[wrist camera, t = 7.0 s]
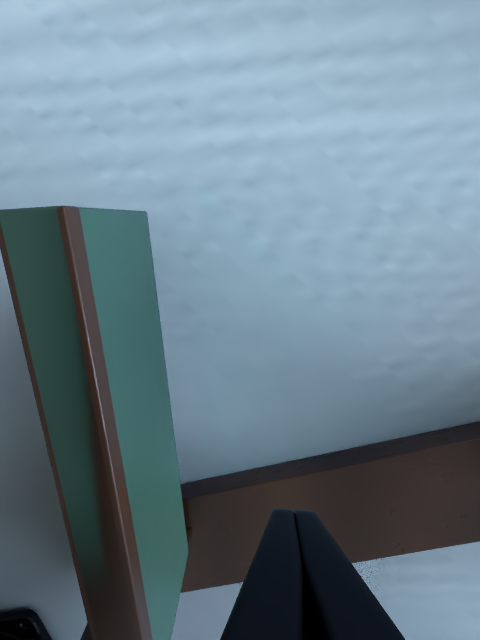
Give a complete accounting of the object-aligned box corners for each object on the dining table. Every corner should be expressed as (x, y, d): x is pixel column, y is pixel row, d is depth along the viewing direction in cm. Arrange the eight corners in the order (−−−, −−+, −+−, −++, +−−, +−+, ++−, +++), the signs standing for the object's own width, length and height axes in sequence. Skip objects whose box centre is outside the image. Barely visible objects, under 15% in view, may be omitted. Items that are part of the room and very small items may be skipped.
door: (192, 565, 16) (160, 738, 10) (125, 565, 16) (60, 735, 11) (150, 211, 12) (64, 205, 6) (60, 216, 12) (-94, 215, 7)
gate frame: (141, 580, 18) (71, 800, 11) (104, 499, 17) (-1, 692, 10) (576, 502, 16) (822, 721, 9) (571, 401, 14) (853, 565, 8)
